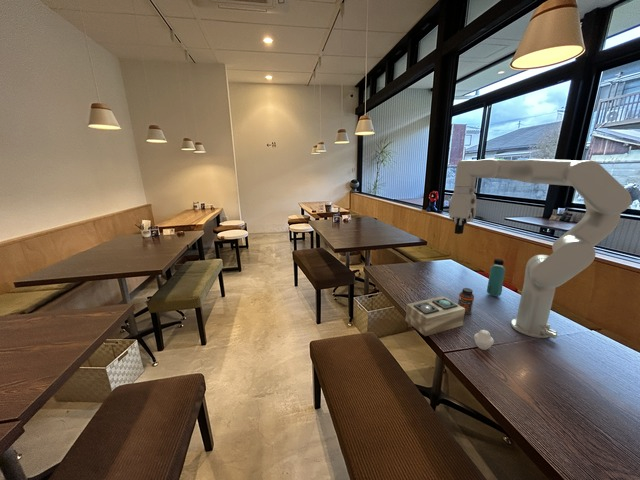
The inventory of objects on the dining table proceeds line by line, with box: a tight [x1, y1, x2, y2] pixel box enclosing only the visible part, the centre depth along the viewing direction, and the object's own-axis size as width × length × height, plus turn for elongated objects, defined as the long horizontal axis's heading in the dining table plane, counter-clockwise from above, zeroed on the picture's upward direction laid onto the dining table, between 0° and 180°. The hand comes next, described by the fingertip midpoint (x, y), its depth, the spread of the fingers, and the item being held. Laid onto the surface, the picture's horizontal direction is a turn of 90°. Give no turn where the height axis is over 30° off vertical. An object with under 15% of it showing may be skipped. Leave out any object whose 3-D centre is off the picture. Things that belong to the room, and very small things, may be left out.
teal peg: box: [439, 300, 450, 307], centre depth 112 cm, size 4×4×8 cm
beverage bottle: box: [486, 258, 506, 297], centre depth 132 cm, size 6×7×20 cm
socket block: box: [405, 295, 466, 337], centre depth 110 cm, size 12×20×9 cm, turn 110°
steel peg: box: [420, 304, 432, 311], centre depth 108 cm, size 4×4×8 cm
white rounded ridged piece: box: [473, 329, 495, 351], centre depth 95 cm, size 6×6×7 cm
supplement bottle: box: [457, 287, 475, 315], centre depth 118 cm, size 6×6×11 cm
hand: (458, 233), depth 112 cm, fingers closed
